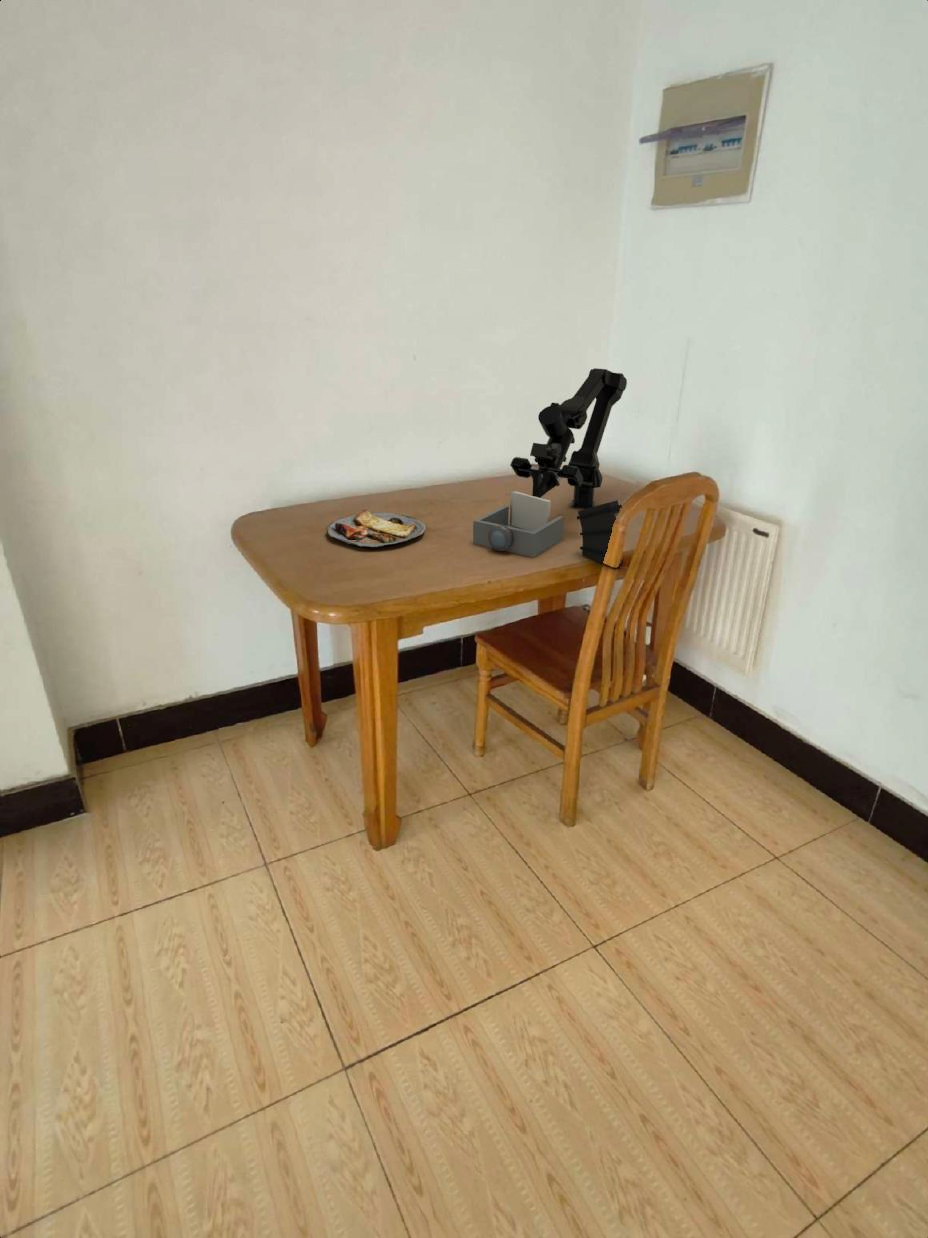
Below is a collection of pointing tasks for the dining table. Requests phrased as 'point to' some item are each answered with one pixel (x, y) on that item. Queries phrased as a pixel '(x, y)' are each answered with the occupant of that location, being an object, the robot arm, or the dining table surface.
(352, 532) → the food plate
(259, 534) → the dining table surface
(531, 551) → the grey open box
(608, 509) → the black ribbed curved block
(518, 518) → the side door
